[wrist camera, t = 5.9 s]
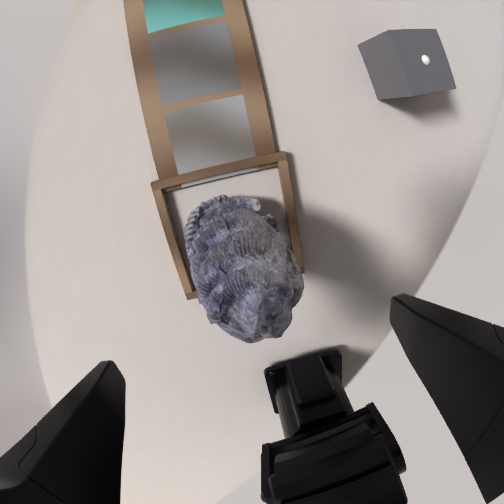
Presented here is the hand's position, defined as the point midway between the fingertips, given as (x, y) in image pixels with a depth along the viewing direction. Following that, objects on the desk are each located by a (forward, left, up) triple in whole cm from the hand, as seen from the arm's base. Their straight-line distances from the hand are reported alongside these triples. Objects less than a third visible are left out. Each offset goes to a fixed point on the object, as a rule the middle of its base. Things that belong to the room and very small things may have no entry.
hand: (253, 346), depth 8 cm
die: (+9, -13, -11) cm, 19 cm away
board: (+11, 0, -11) cm, 15 cm away
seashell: (0, 0, -11) cm, 11 cm away
